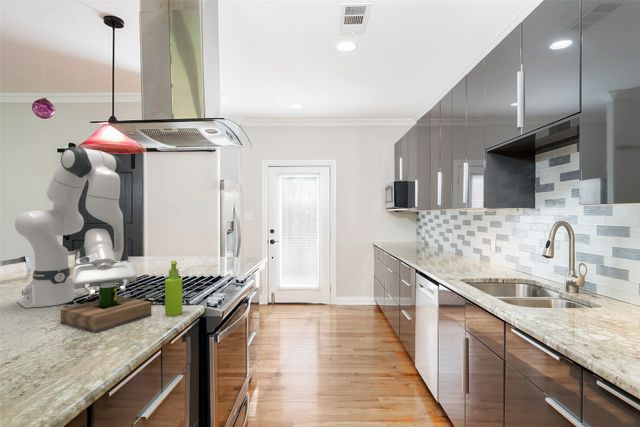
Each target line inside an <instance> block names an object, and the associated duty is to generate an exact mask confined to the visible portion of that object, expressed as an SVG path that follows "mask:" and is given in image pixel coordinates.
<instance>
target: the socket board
mask: <svg viewBox="0 0 640 427" xmlns="http://www.w3.org/2000/svg"><path fill="white" fill-rule="evenodd" d="M151 316H152V301H148V300H142V299H137V298H131V297H127V296H121V295H117V306H114V307H111V308H107V309H100V308H99V299H97V300H95V301H90V302H84V303H80V304H77V305H73V306H68V307H67V306H66V307H64V308H61V309H60V324H61V325H64V326H69V327H71V328H76V329H80V330H83V331H86V332H90V333H94V334H97V333H99V332H103V331H107V330H109V329H113V328H115V327H119V326H122V325H126V324H129V323H132V322H135V321H138V320H141V319H144V318H148V317H151Z"/></svg>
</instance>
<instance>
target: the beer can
mask: <svg viewBox="0 0 640 427" xmlns="http://www.w3.org/2000/svg"><path fill="white" fill-rule="evenodd" d="M117 296H118V285H117V284H116V282H104V283H101V284H100V286H98V300H99V308H100V309H107V308H111V307H114V306H117Z"/></svg>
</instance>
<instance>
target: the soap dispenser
mask: <svg viewBox="0 0 640 427" xmlns="http://www.w3.org/2000/svg"><path fill="white" fill-rule="evenodd" d="M170 264H171V265H170V269H168V278H166V279H164V288H165V289H164V292H165V293H164V294H165V296H164V298H165V300H164V301H165V302H164V304H165V306H164V308H165V310H164V311H165V316H167V317H175V316H179V315H180V316H181V315H182V314H183V278H182V277H179V273H180V272H179V268H177V265H178V261H177V260H170Z"/></svg>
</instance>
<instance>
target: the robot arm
mask: <svg viewBox="0 0 640 427" xmlns="http://www.w3.org/2000/svg"><path fill="white" fill-rule="evenodd" d="M122 168H123V164H122V160H121V159H120V158H119V157H118V156H116V155H115V154H112V153H107V152H104V151H102V150H97V149H90V148H83V147H81V146H69V147H67V148H65V150H64V151H63V152H62V154H61V155H60V163H59V165H58V166H57V168H56V169H55V172H54V174H53V176H52V178H51V181H50V183H49V185H48V188H47V190H46V197H47V198H48V200H49V201H51V203H53V204H52V208H51V210H50V209H49V210H48V209H45V210H43V209H42V210H41V209H39V210H38V209H37V210H29V211H26V212H21V213H20V214H19V215H18V216H17V217H16V219H15V220H14V227H15V230H16V232H17V233H18V234H19V235H20V236H22V237H24V238H25V239H26V240H27V241H28V242H29V243H30V246H31V248H32V249H33V253H34V254H33V255H34V270H33V271H32V272H33V273H32V280H31V281H30V282H29V283H28V284H27V285H26V286H25V288H24V289H21V296H23V297H22V298H18V299H17V300H16V303H17V304H19V305H20V306H22V307H23V308H24V309H25V308H26V309H27V308H28V309H30V308H37V307H38V308H40V307H41V308H42V307H52V306H58V305H62V304H66V303H69V302H72V301H73V300H74V299H76V298H78V294H75V290H77V289H78V290H79V289H84V291H85V292H86V293H87V294H88V297H89V298H91V297H92V298H93V297H95V295H96V292H95V291H96V290H95V289H91V288H92V287H93V288H96V287H99V286H100V284H101V283H104V282H116V285H117V284H121V285H120V286H119V292H120V293H125V292H126V286H127V283H132V282H135V281H136V279H137V272H136V268H135V264H134V261H131V260H129V253H128V232H127V231H128V230H127V218H126V214H125V213H124V212H123V211H122V210H121V208H120V203H119V202H120V196H121V177H120V174H121V172H122ZM87 182H88V187H87V192H86V196H85V197H86V198H85V209H86V212H88V214H89V215H91V216H92V217H93V218H95V219H98V220H100V221H102V222H104V223H107V224H109V225H110V226H111V227H112V229H113V239H114V244H113V240H112V238H111V235H110V233H109V231H108V230H107V229H105V228H97V227H96V228H91V229H89V230H87V231H86V232H85V235H84V244H83V245H82V246H81V247H80V248H79V249H78V250H77V251H76V252H75V253H74V254H75V255H74V264H73V269H72V273H71V269H70V267H69V250H68V248H67V247H66V246H64V245H61V244H60V242H59V241H58V237H57V236H68V235H69V236H70V235H72V234H73V235H74V234H77V233H79V232H81V230H82V229H83V227H84V224H85V221H84V217H83V215H82V214H81V213H80V211H79V202H80V198H81V196H82V194H83V190H84V188H85V186H86V183H87ZM113 245H114V246H113ZM70 276H71V277H70Z"/></svg>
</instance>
